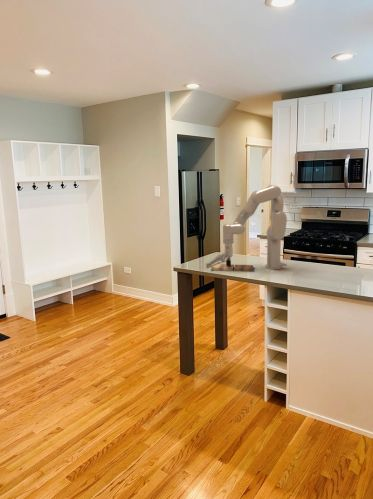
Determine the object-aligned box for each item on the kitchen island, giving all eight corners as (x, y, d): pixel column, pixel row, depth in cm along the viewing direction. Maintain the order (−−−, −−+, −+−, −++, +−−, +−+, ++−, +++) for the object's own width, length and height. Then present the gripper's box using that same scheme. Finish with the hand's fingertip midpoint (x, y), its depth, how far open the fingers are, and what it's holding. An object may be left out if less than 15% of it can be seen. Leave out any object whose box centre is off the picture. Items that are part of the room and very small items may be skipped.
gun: (228, 259, 307) (227, 250, 304) (208, 273, 285) (207, 263, 282) (226, 258, 308) (225, 249, 305) (206, 272, 286) (205, 263, 283)
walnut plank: (253, 267, 279) (253, 265, 279) (252, 271, 269) (252, 268, 268) (235, 267, 282) (235, 264, 281) (234, 270, 271) (234, 268, 271)
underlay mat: (254, 268, 280) (254, 267, 280) (254, 272, 267) (254, 271, 267) (213, 266, 286) (213, 266, 286) (210, 271, 274) (210, 270, 274)
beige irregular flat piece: (233, 267, 282) (233, 264, 282) (232, 270, 271) (232, 268, 271) (213, 266, 285) (213, 264, 285) (211, 270, 274) (211, 267, 274)
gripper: (232, 243, 266) (232, 268, 269) (234, 239, 280) (234, 263, 283) (221, 242, 267) (222, 268, 271) (224, 239, 281) (224, 263, 285)
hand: (228, 265), depth 277 cm, fingers closed
